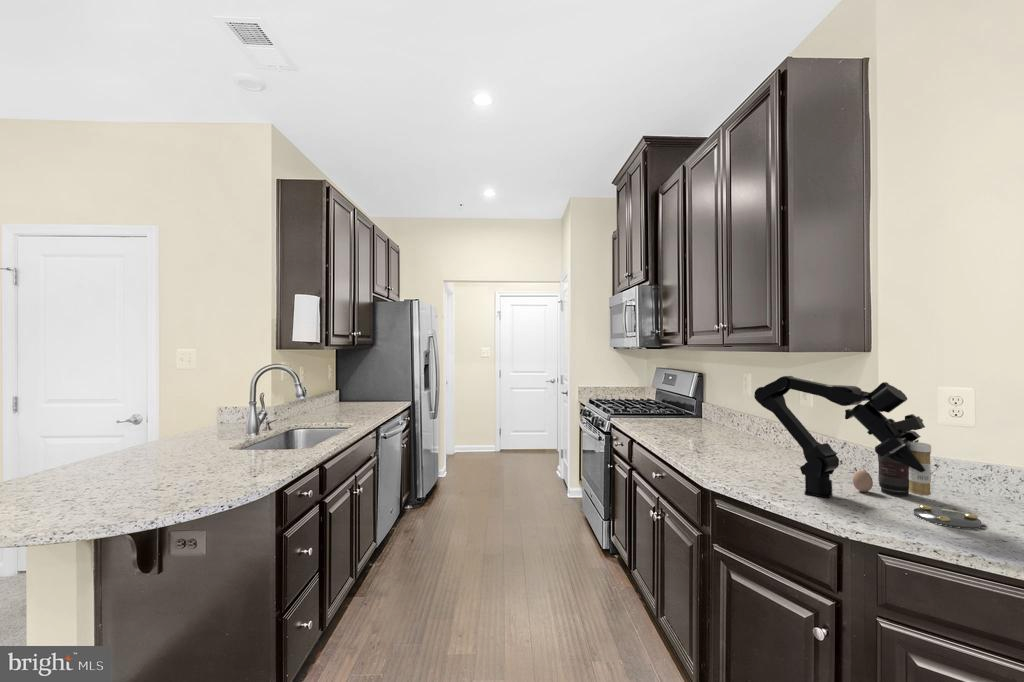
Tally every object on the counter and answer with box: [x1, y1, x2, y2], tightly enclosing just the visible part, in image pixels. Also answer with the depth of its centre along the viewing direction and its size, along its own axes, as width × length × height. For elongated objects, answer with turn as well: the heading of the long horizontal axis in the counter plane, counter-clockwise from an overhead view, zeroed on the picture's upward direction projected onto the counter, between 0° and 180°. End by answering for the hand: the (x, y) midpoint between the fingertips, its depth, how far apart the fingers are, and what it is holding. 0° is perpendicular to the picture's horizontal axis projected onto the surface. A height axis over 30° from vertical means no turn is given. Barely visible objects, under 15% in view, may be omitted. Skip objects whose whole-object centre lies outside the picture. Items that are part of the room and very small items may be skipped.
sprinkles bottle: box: [909, 441, 932, 497], centre depth 122 cm, size 5×5×14 cm
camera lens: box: [877, 452, 910, 497], centre depth 144 cm, size 8×8×15 cm
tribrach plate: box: [913, 504, 983, 529], centre depth 121 cm, size 13×13×2 cm
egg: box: [852, 469, 874, 493], centre depth 145 cm, size 5×5×7 cm
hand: (926, 470), depth 121 cm, fingers closed on sprinkles bottle, 4 cm apart
